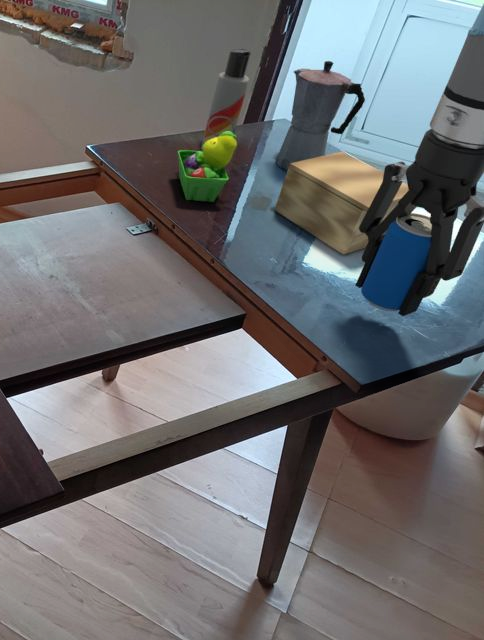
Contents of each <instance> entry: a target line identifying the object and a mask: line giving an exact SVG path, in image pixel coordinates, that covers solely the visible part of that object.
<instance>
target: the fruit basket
mask: <svg viewBox="0 0 484 640" xmlns="http://www.w3.org/2000/svg"><path fill="white" fill-rule="evenodd" d="M236 138H237V135H236V134H235V133H234V134H233V133H232V132H231V131H225V132H223V133H222V134H220V136H219V137H215V138H212V139H210V140H208V141H206V142H205V143H204V145H203V147H202V146H201V147H202V148H203V151H202V150H191V149H180V150H178V151H177V158H178V178H179V181H180V185H181V188H182V191H183V194H184V198H185V200H186V201H195V202H211V203H214V202H215V200H216V199H217V197H218V196H219V194H220V192H221V191H222V190H223V187H224V185H225V184H227V182H228V181H229V176H228V174H227V170H226V169H225V167H226V166H227V165H228V164H229V163H230V161H232V158H233V155H234V152H235V150H236V149H237V145H238V142H237V140H236Z"/></svg>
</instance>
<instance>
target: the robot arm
mask: <svg viewBox="0 0 484 640" xmlns="http://www.w3.org/2000/svg"><path fill="white" fill-rule="evenodd" d="M434 110H435V111H434V113H433V114H432V118H431V119H430V121H429V127H430V129H428V130H426V131H425V133H424V135H423V137H422V139H421V141H420V144H419V147H418V148H417V151H416V153H415V156H414V160H413V162H412V163H411V164H410V165H409V164H406V163H405V162H404V161H397V162H393V163H390V164H387V165H385V167H384V170H383V173H384V176H383V182H382V184H381V186H380V188H379V190H378V191H377V193H376V195H375V197H374V199H373V201H372V203H371V205H370V207H369V209H368V211H367V213H366V215H365V216H364V218H363V220H362V222H361V224H360V226H359V230H360V232H362V233H365V234H366V235H367V237H368V244H367V246H366V248H364V250H363V253H362V255H361V261H362V262H363V263H364V265H363V267H362V269H361V271H360V274H359V276H358V278H357V280H356V283H355V286H356V288H358V289H362V286H363V284H364V282H365V279H366V277H367V275H368V273H369V270H370V268H371V266H372V263H373V261H374V259H375V257H376V254H377V252H378V250H379V248H380V245H381V243H382V241H383V239H384V236H385V234H386V232H387V230H388V227H389V225H390V224H391V223H392V222H394V221H396V218H397V217H398V218H402V217H405V216H407V215H409V214H411V213H413V212H414V210H416V209H417V208H421V209H423V210H424V211H425V212H427V213H428V214H430V216H429V217H430V223H431V224H432V228H431V235H432V236H431V237H430V243H431V246H430V248H429V252H428V259H427V267H426V270H425V271H422V272H419V273H418V275H417V277H416V279H415V281H414V283H413V285H412V287H411V289H410V291H409V293H408V295H407V297H406V299H405V301H404V303H403V305H402V307H401V309H400V310H399V311H398V315H400V316H402V317H405V316H408V315H411V314H413V313H415V312H417V311H418V309H419V307H420V305H421V303H422V301H423V299H426V298H428V297H431V296H432V295H433V294H434V293H435V291H436V289H437V287H438V285H439V283H440V281H441V280H442V281H445V282H446V281H447V282H448V281H450V280H453V279H455V278H458V277H461V276H462V275H463V273H464V271H465V268H466V266H467V264H468V262H469V259H470V257H471V254H472V252H473V250H474V248H475V245H476V244H477V243H476V242H477V240H478V238H479V236H480V234H481V231H482V228H483V226H484V201H482V199H480V198H479V196H478V197H477V191H478V190H477V187H478V186H477V185H478V182H480V179H481V178H482V177H483V175H484V3H483V4H482V6H481V8H480V10H479V13H478V14H477V16H476V19H475V20H474V22H473V24H472V26H471V28H470V29H468V32H467V35H466V38H465V41H464V43H463V45H462V48H461V51H460V52H459V55H458V57H457V60H456V62H455V64H454V67H453V69H452V71H451V74H450V76H449V78H448V81H447V84H446V85H445V88H444V90H443V92H442V94H441V96H440V99H439V101H438V104H437V106H436V108H435V109H434ZM405 180H406V184H407V185H408V189H409V191H408V192H407V193H406V194H405V195H404V196H403V197H402V198H401V199H400V200H399V202H398V205H397V206H396V207H395V208H394V209H393V210H392V211H391V212H390V213H389V214H388V216H387V217H386V218H385V219H384V220H383V218H384V216H385V214H386V212H387V210H388V209H389V207H390V205H391V203H392V201H393V199H394V197H395V196H396V194H397V192H398V190H399V188H400V186H401V184H402V182H403V183H404V181H405ZM464 205H465V206H466V209H465V211H464V213H463V217H464V219H463V221H462V222H461V224H460V226H459V228H458V230H457V234H456V236H455V238H454V241H453V244H452V238H453V232H454V224H455V221H456V220H457V219H458V214H459V208H460V207H462V206H464ZM382 220H383V221H382ZM381 221H382V222H381ZM451 245H452V246H451Z"/></svg>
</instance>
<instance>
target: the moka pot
mask: <svg viewBox="0 0 484 640" xmlns="http://www.w3.org/2000/svg"><path fill="white" fill-rule="evenodd" d="M333 65H334V62H333V61H330V60H326V61H324V64H323V69H311V68H298V69H296V70H294V71H293V73H294V74H295V88H294V96H293V102H292V107H291V115H292V117H291V121H290V126H289V128H288V129H287V132H286V135H285V137H284V140H283V142H282V145H281V147H280V149H279V152H278V154H277V156H276V158H275V163H276V164H277V166H278V167H280V168H281V169H283V170H286V171H288V168H289V166H290V163H294V162H298V161H303V160H307V159H311V158H316V157H320V156H325V155H326V149H327V144H328V139H329V133H330V132H331V133H333V134H336V135H343V134H344V132H345V130H346V129H347V128H348V127H349V125H350V123H352V121H353V120H354V118H355V116H356V115H357V114H358V113H359V111H360V110H361V109H362V108H363V105H364V104H365V102H366V98H365V95H364V94H365V93H364V92H363V88H362V87H361V86H362V83H354V82H352V79H351V78H349V77H347V76H345V75H343V74H342V73H340V72H337V71H333V70H332V68H333ZM346 94H347V95H356V96H357V101H356V103H355V104H354V105H353V106H352V109H351V110H350V111H349V113H348V114H347V115H346V117H345V119H344V121H343V122H342V123H341V125H340V126H339V127H335V126H332V122H333V121H334V119H335V118H336V116H337V114H338V111H339V109H340V106H341V104H342V102H343V100H344V99H345V96H346ZM331 126H332V127H331ZM329 131H330V132H329Z"/></svg>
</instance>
